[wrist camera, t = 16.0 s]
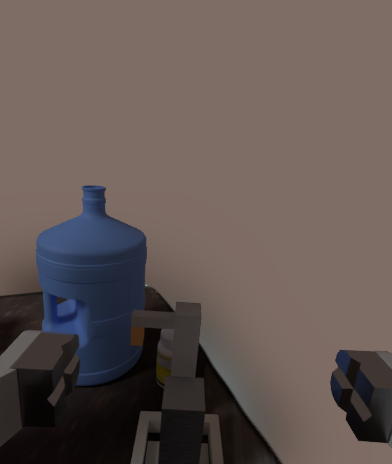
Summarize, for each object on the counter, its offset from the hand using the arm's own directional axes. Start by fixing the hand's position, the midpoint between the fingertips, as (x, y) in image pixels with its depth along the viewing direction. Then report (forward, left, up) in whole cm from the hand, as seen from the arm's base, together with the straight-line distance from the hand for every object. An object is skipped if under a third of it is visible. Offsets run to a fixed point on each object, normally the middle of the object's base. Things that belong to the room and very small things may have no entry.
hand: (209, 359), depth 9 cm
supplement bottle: (+4, +29, -28) cm, 41 cm away
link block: (+3, +15, -28) cm, 32 cm away
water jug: (-8, +36, -28) cm, 47 cm away
